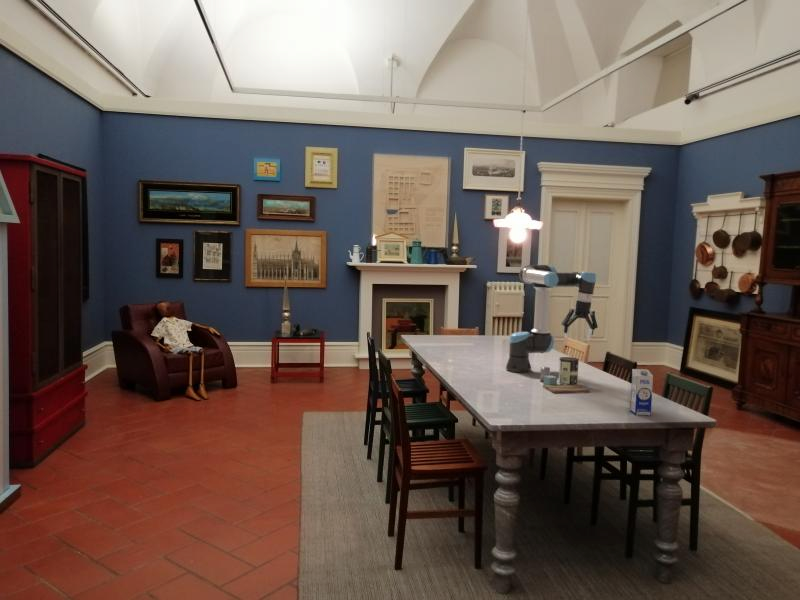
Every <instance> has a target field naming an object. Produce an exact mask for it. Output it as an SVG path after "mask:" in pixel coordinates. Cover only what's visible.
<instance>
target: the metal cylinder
mask: <svg viewBox="0 0 800 600" xmlns="http://www.w3.org/2000/svg"><path fill="white" fill-rule="evenodd" d="M539 373H540V377H539V378H540V379H539V380H540V383H543V384H544V376H549V375H550V374H551V369H550V367H549V366H541V367H540V372H539Z"/></svg>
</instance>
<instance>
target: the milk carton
mask: <svg viewBox="0 0 800 600" xmlns="http://www.w3.org/2000/svg"><path fill="white" fill-rule="evenodd" d="M653 381H654V376H653V374H652V373H651V372H650V370H648V369H647V368H644V369H641V368H632V369H631V390H630V410H629V412H630V413H631V412H632V413H631V414H633V415H634V416H635V415H638V417H639V416H641V417H643V416H644V417H646V416H645V415H648V416H647V417H651V416H652V400H653Z"/></svg>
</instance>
